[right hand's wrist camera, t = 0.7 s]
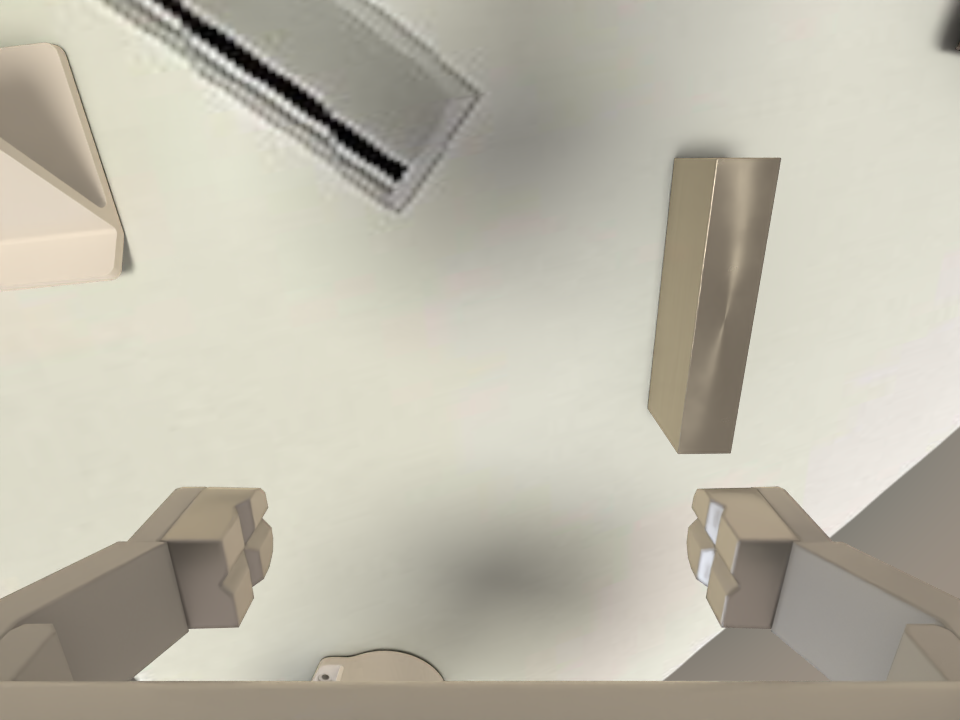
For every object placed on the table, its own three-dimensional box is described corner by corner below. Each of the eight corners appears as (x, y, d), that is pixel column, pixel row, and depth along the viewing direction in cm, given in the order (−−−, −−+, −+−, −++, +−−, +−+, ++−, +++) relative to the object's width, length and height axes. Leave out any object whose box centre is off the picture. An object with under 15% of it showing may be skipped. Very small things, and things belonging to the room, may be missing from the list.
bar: (674, 158, 45) (716, 158, 37) (727, 157, 45) (781, 157, 37) (647, 408, 53) (677, 454, 45) (692, 408, 53) (730, 453, 45)
